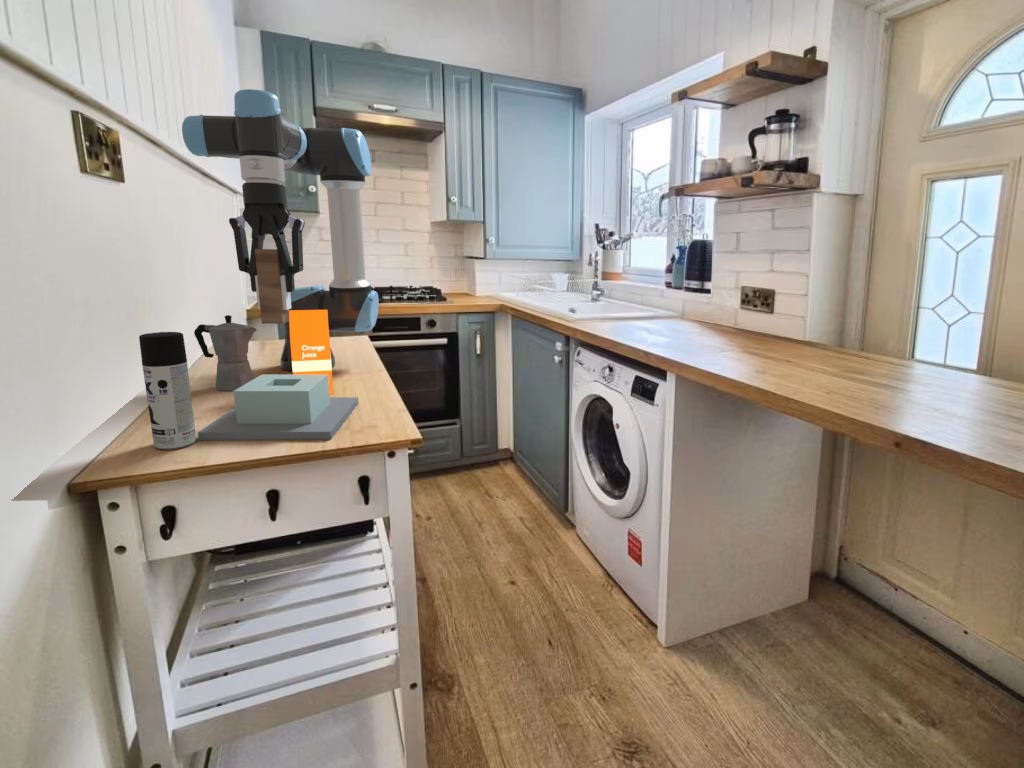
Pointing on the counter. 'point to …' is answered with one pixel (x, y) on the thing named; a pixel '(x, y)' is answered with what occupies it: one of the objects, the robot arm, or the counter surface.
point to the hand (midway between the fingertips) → (275, 308)
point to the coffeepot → (228, 352)
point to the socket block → (282, 410)
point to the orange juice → (310, 343)
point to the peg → (270, 286)
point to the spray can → (168, 390)
